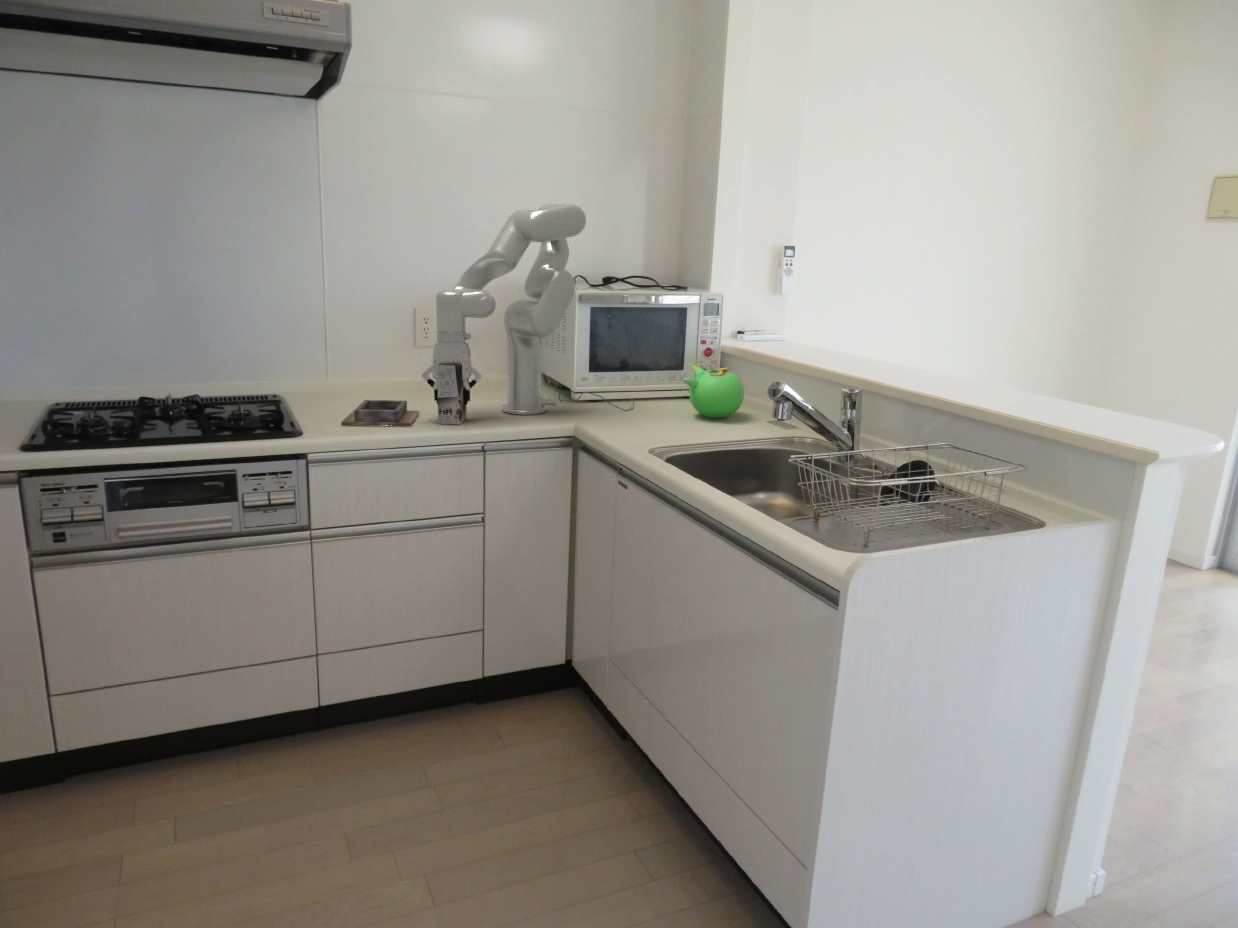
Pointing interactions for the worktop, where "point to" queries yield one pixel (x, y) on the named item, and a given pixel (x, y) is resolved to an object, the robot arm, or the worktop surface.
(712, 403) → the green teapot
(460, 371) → the coffee box
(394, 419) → the dock
